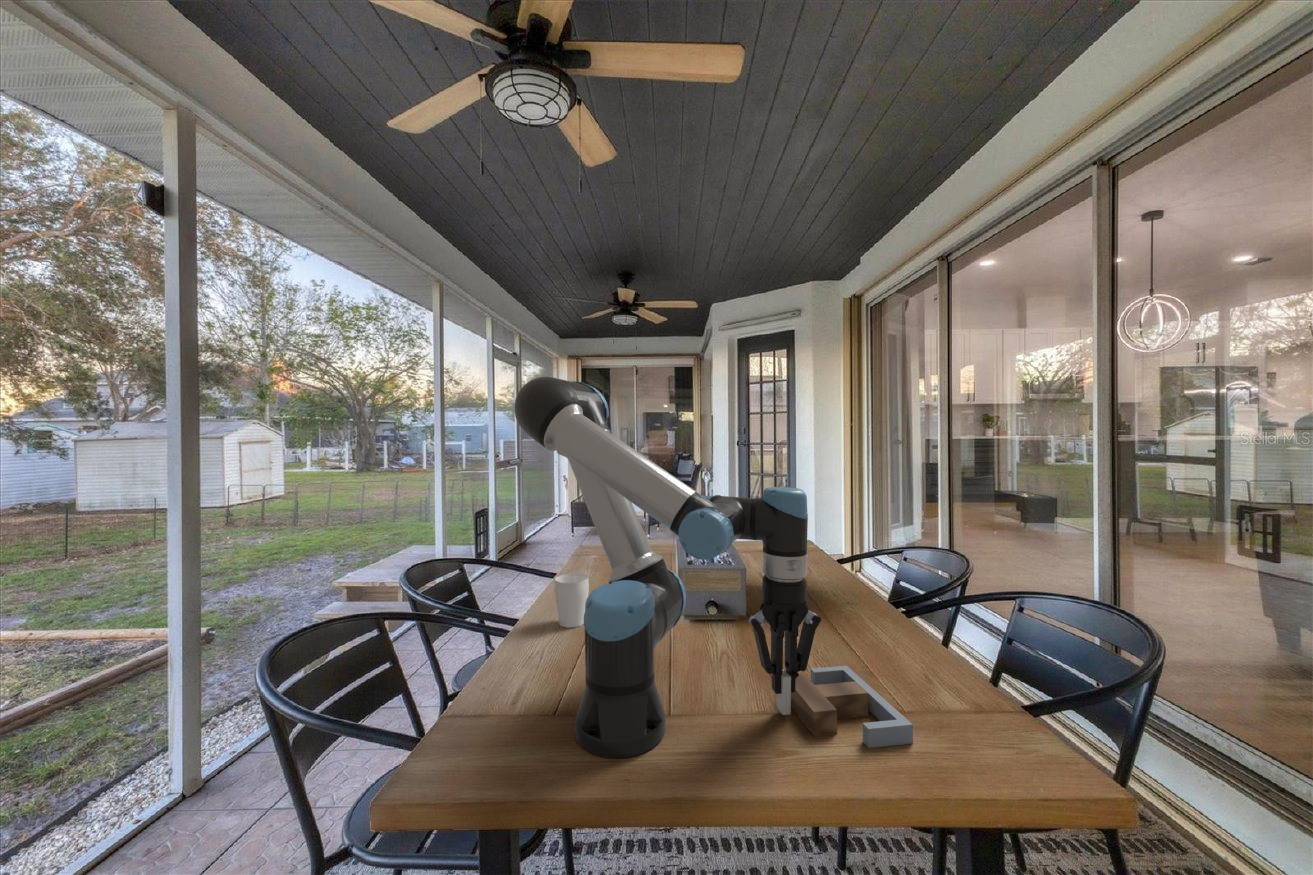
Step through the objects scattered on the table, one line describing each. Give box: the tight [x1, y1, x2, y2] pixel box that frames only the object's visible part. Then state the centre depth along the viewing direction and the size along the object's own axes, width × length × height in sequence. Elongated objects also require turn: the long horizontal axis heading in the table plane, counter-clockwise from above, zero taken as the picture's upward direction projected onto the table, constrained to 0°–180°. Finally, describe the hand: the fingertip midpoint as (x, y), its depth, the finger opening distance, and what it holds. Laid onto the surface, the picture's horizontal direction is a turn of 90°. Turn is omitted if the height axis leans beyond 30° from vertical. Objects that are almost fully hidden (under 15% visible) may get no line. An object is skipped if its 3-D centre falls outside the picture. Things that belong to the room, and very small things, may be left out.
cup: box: [554, 573, 590, 629], centre depth 128 cm, size 9×9×12 cm
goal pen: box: [810, 665, 914, 749], centre depth 86 cm, size 8×20×3 cm, turn 8°
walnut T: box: [791, 673, 869, 737], centre depth 86 cm, size 12×12×4 cm
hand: (783, 710), depth 85 cm, fingers closed
